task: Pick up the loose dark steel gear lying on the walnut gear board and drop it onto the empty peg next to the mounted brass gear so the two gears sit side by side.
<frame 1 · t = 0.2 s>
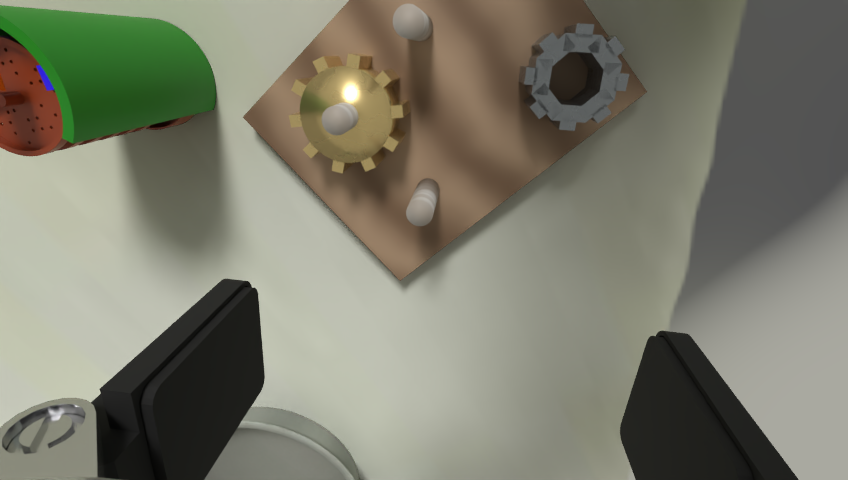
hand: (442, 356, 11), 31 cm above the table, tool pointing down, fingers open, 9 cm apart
brass gear: (358, 110, 37), resting on board
cake pan: (279, 470, 58), on the table
motor: (160, 74, 40), on the table
steel gear: (564, 76, 35), point 2 cm above the table, touching board
board: (435, 102, 38), on the table
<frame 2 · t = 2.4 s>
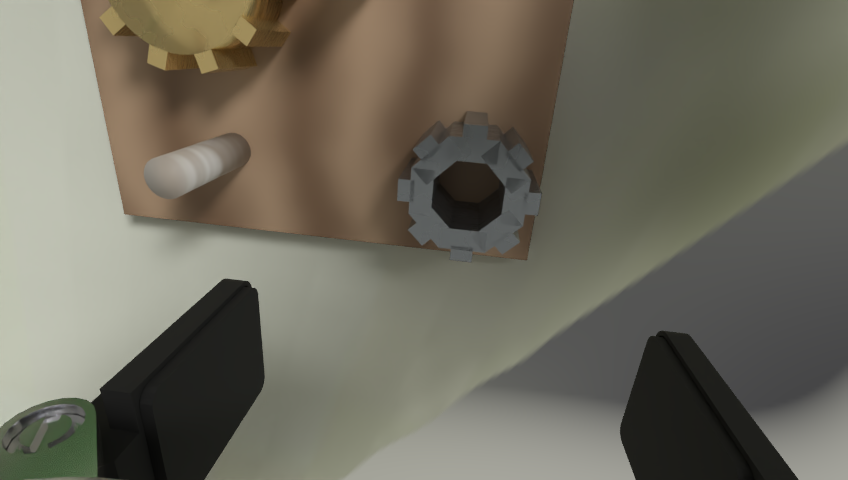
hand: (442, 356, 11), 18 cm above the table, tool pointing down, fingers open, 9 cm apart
steel gear: (470, 173, 26), point 2 cm above the table, touching board
board: (326, 65, 26), on the table
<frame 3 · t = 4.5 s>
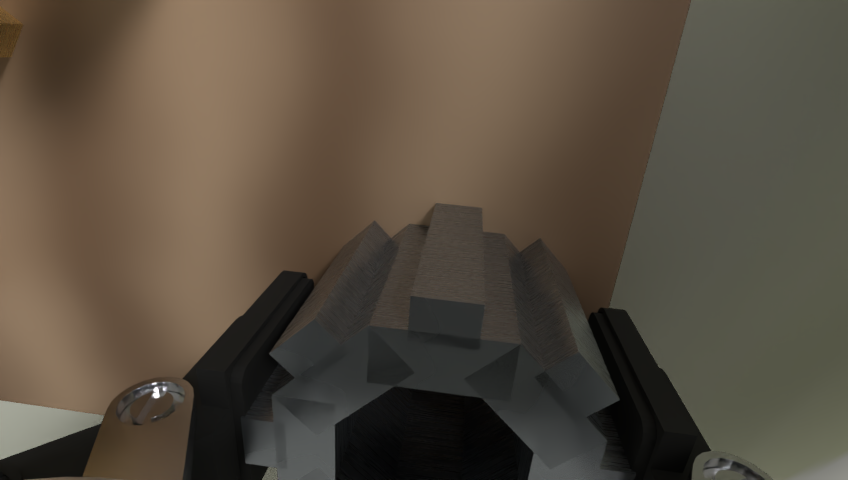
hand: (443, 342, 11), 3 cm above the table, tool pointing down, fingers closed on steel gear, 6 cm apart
steel gear: (445, 326, 12), point 2 cm above the table, touching board, gripper
board: (145, 95, 13), on the table
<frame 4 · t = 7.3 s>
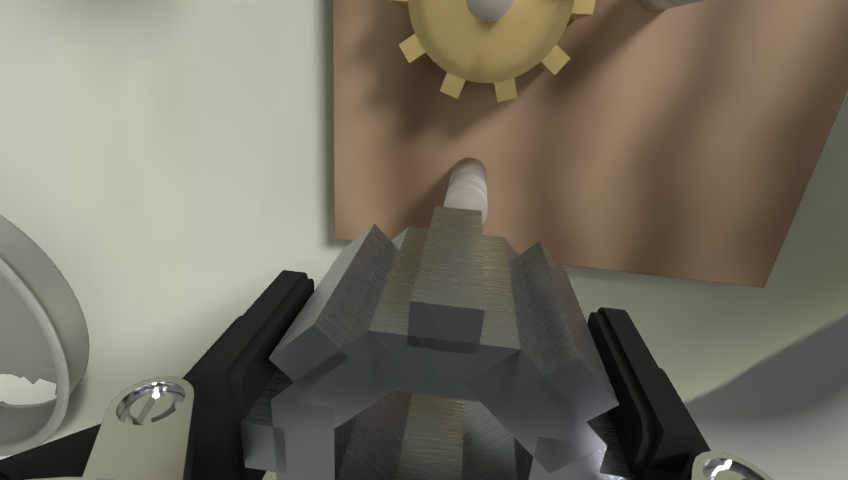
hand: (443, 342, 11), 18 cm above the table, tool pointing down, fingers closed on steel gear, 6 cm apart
brass gear: (488, 4, 23), resting on board
steel gear: (445, 328, 12), point 18 cm above the table, touching gripper
board: (567, 88, 26), on the table
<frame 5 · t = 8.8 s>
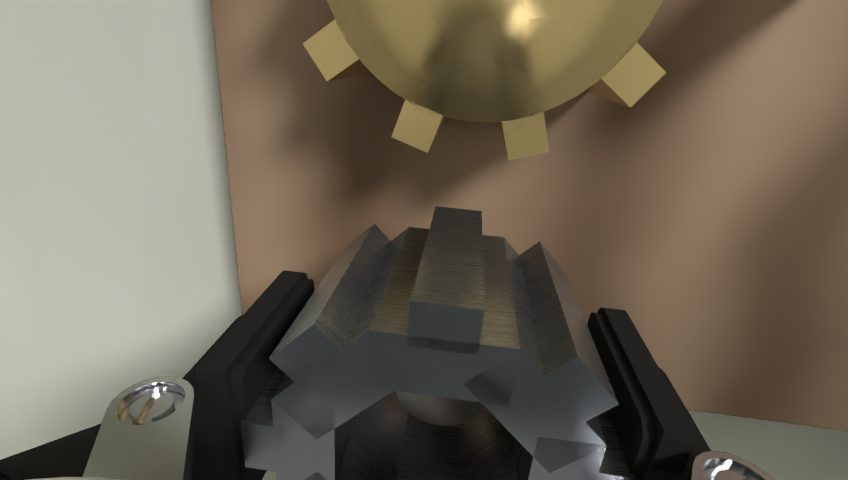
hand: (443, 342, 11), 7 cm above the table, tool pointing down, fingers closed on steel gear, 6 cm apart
steel gear: (445, 328, 12), point 6 cm above the table, touching gripper
board: (622, 118, 15), on the table
when the fingers open (4 cm above the table, at t = 10.2 s): steel gear drops 1 cm, resting on board.
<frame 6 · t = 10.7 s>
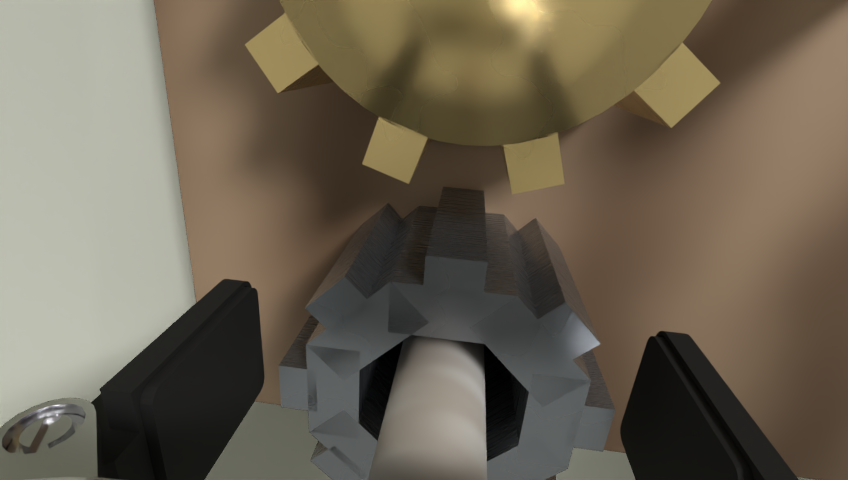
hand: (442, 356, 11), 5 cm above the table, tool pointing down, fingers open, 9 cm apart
steel gear: (451, 299, 13), point 2 cm above the table, touching board
board: (643, 132, 13), on the table
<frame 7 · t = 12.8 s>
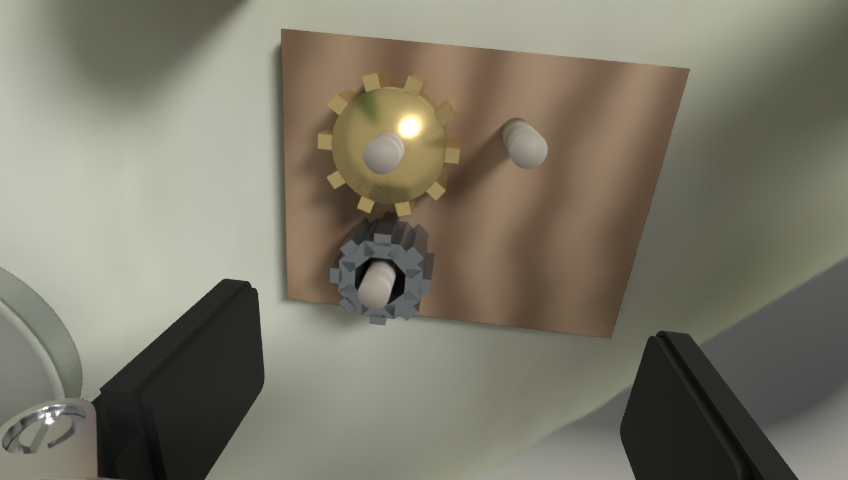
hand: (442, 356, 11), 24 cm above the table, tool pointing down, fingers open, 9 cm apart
brass gear: (397, 138, 31), resting on board
steel gear: (389, 254, 35), point 2 cm above the table, touching board
board: (462, 191, 34), on the table
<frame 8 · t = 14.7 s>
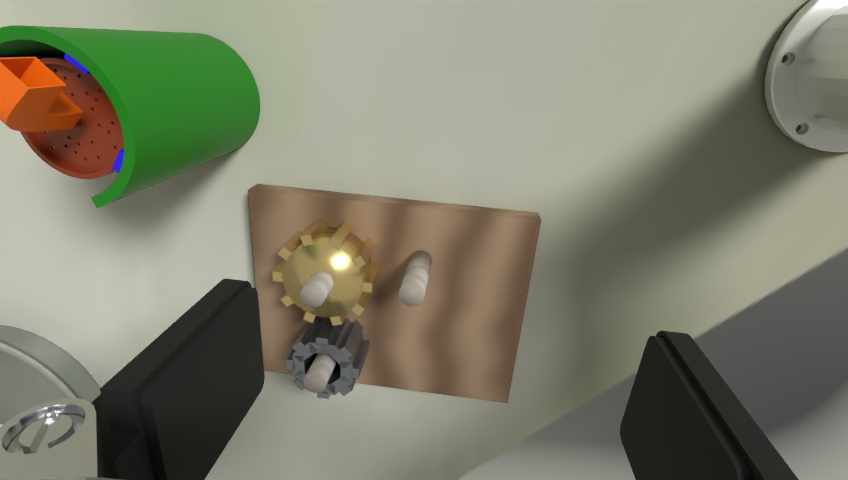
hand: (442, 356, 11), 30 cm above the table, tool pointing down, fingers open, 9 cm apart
brass gear: (335, 262, 42), resting on board
cake pan: (32, 395, 57), on the table
motor: (208, 90, 40), on the table
steel gear: (336, 340, 46), point 2 cm above the table, touching board
board: (390, 293, 45), on the table
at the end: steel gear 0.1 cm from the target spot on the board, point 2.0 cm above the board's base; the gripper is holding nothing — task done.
